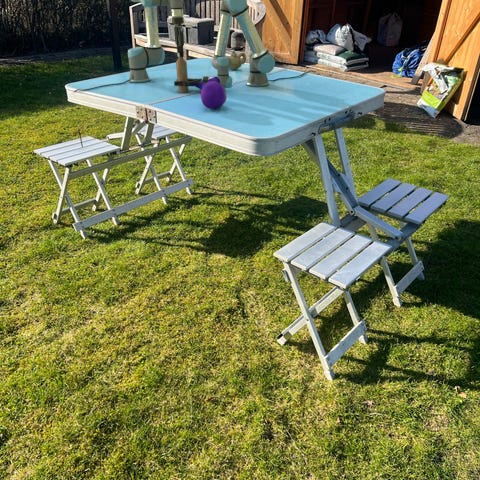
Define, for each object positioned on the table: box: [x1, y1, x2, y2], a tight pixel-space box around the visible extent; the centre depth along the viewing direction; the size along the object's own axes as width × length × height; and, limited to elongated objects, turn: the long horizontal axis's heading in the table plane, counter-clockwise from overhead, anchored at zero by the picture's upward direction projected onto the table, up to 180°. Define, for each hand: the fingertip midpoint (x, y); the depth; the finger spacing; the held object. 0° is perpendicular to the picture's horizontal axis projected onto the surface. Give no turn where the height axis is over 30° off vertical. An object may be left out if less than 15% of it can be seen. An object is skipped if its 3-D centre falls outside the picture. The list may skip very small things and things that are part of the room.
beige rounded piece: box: [226, 50, 247, 71], centre depth 368 cm, size 21×12×15 cm, turn 120°
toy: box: [189, 77, 227, 111], centre depth 263 cm, size 16×18×27 cm
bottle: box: [175, 57, 190, 94], centre depth 299 cm, size 7×7×24 cm
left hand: (180, 56), depth 294 cm, fingers closed on cap, 4 cm apart
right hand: (175, 82), depth 303 cm, fingers closed on bottle, 7 cm apart
